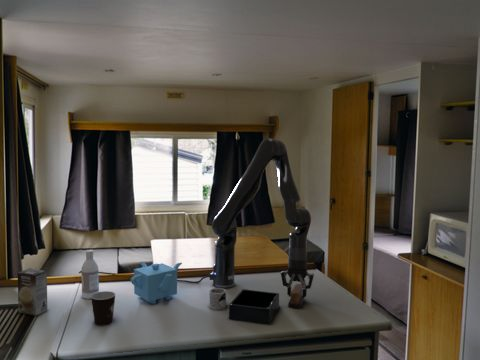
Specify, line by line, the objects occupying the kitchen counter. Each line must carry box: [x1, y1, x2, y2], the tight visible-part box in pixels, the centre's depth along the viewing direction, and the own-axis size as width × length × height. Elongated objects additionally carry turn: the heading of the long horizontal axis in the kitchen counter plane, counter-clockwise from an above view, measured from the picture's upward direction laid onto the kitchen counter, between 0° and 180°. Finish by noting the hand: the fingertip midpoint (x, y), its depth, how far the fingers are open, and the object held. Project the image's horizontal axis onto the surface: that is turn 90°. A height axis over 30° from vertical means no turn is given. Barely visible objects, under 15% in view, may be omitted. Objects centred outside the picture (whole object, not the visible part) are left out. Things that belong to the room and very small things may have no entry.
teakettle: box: [130, 261, 183, 305], centre depth 184 cm, size 19×19×15 cm
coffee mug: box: [90, 290, 116, 326], centre depth 161 cm, size 12×9×10 cm
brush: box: [288, 283, 305, 309], centre depth 180 cm, size 5×12×6 cm, turn 163°
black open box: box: [228, 288, 280, 325], centre depth 169 cm, size 16×18×6 cm
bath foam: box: [80, 249, 100, 300], centre depth 185 cm, size 7×7×20 cm
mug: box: [208, 287, 227, 311], centre depth 177 cm, size 10×7×7 cm
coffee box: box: [16, 267, 49, 316], centre depth 168 cm, size 9×6×16 cm
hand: (296, 296), depth 180 cm, fingers open, 5 cm apart
